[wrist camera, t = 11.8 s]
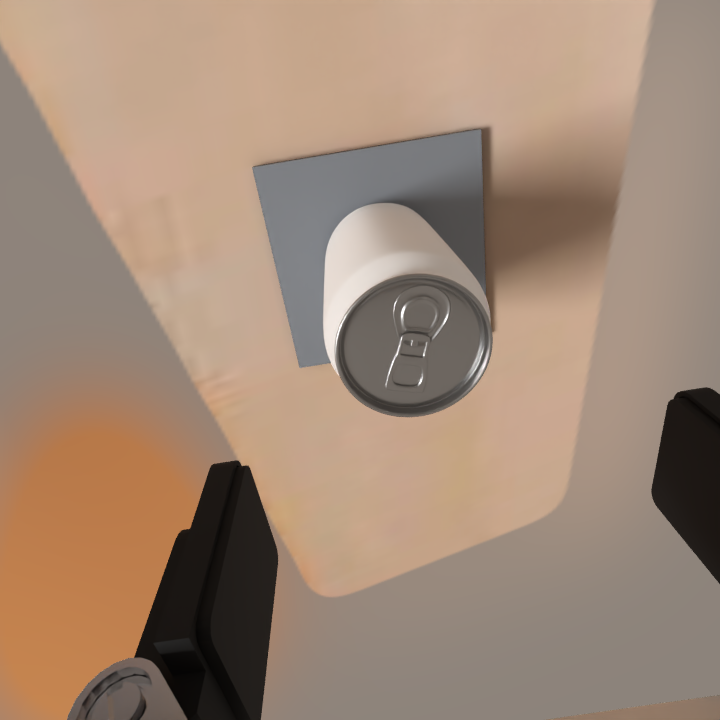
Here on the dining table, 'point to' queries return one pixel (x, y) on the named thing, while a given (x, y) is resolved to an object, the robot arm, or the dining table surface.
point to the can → (402, 313)
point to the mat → (357, 189)
